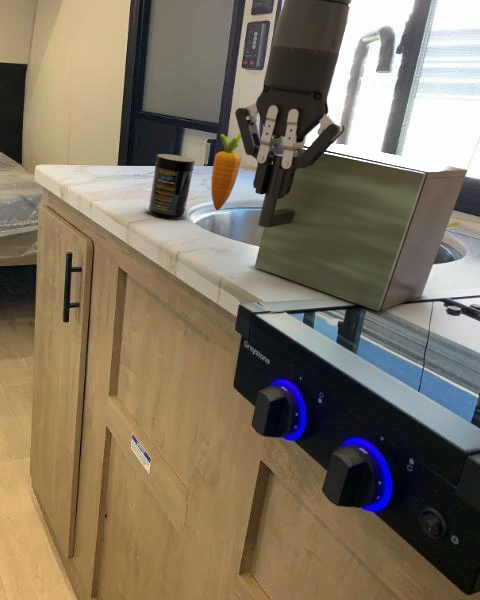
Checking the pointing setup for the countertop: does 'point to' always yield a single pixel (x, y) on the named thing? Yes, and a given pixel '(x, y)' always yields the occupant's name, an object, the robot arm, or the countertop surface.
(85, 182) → the countertop surface
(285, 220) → the cupboard door
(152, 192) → the supplement container
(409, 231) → the cupboard
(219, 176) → the carrot
